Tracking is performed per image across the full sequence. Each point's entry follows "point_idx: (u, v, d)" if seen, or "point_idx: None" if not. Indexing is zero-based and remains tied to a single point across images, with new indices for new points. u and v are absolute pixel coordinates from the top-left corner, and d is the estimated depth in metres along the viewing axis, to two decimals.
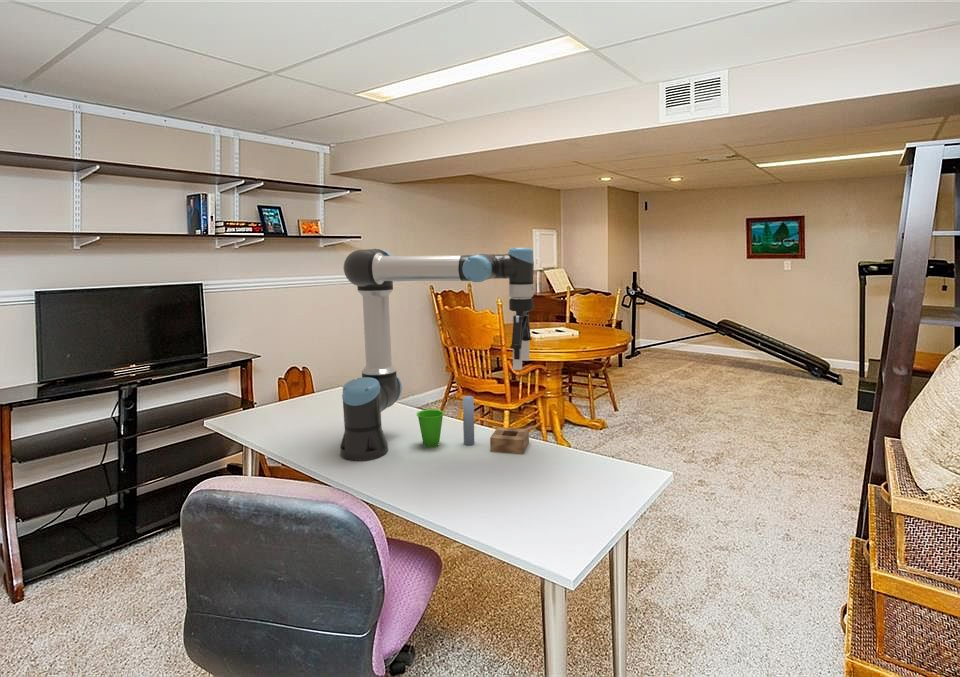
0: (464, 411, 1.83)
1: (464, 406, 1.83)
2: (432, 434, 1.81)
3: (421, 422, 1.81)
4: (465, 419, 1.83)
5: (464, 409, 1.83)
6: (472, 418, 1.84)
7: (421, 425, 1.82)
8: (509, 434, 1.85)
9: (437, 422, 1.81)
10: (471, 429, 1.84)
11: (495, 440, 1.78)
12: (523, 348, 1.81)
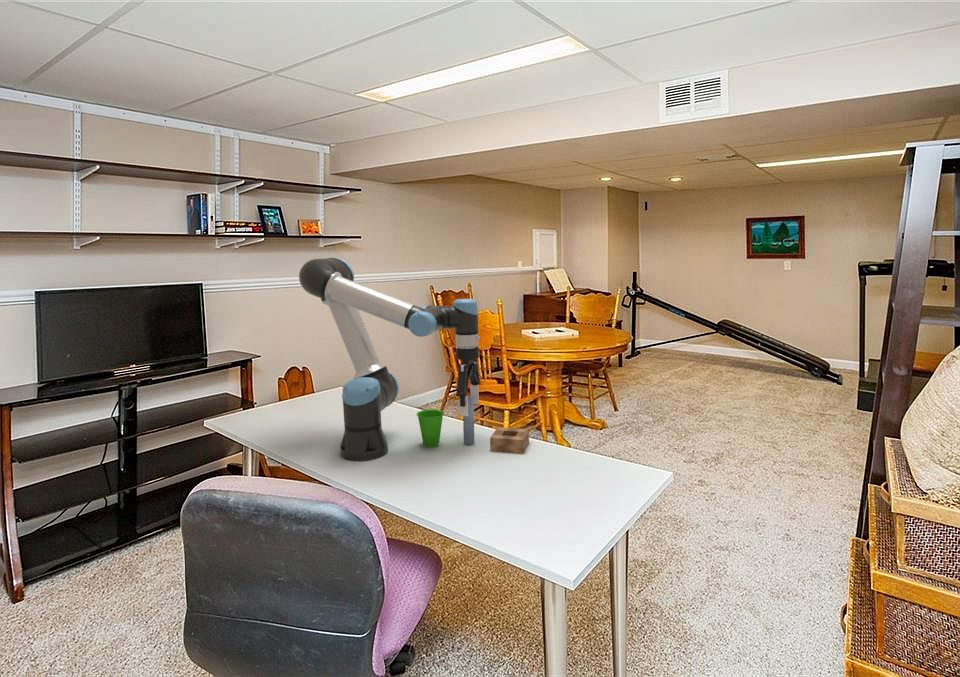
0: None
1: None
2: (432, 434, 1.81)
3: (421, 422, 1.81)
4: (465, 419, 1.83)
5: None
6: (472, 418, 1.84)
7: (421, 425, 1.82)
8: (509, 434, 1.85)
9: (437, 422, 1.81)
10: (471, 429, 1.84)
11: (495, 440, 1.78)
12: (472, 392, 1.90)
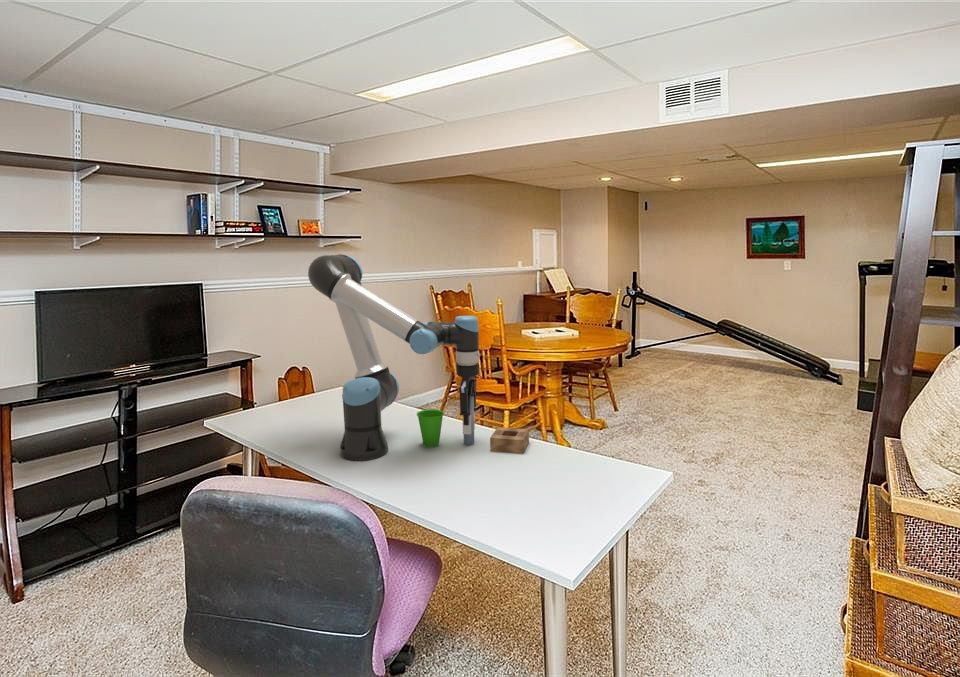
0: None
1: None
2: (432, 434, 1.81)
3: (421, 422, 1.81)
4: None
5: None
6: (472, 418, 1.84)
7: (421, 425, 1.82)
8: (509, 434, 1.85)
9: (437, 422, 1.81)
10: (471, 429, 1.84)
11: (495, 440, 1.78)
12: None
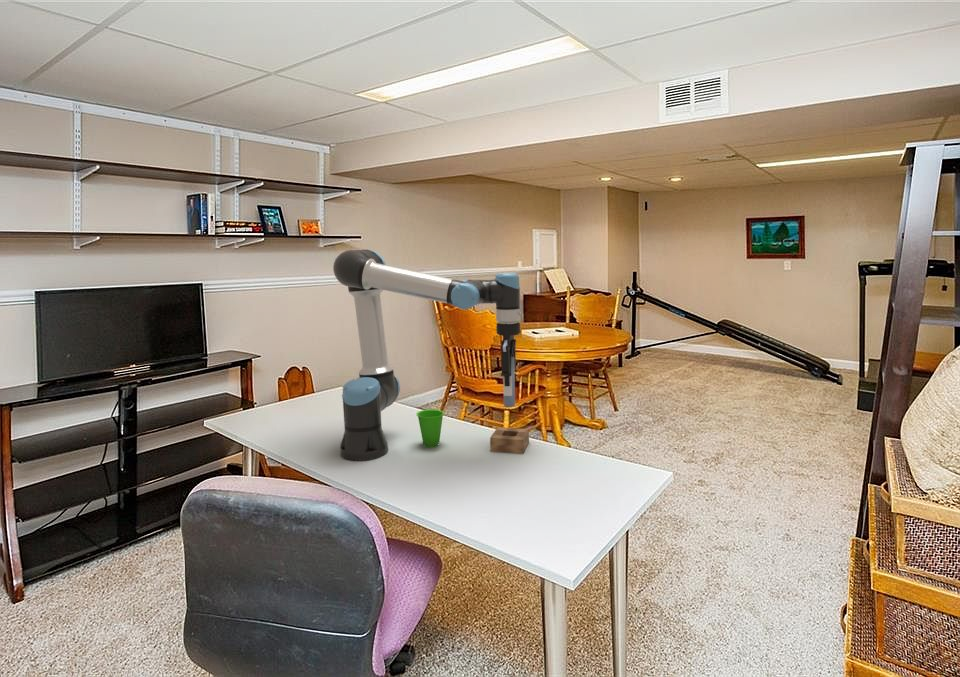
0: None
1: None
2: (432, 434, 1.81)
3: (421, 422, 1.81)
4: None
5: None
6: (513, 379, 1.78)
7: (420, 425, 1.82)
8: (509, 434, 1.85)
9: (437, 422, 1.81)
10: (512, 390, 1.78)
11: (495, 440, 1.78)
12: None
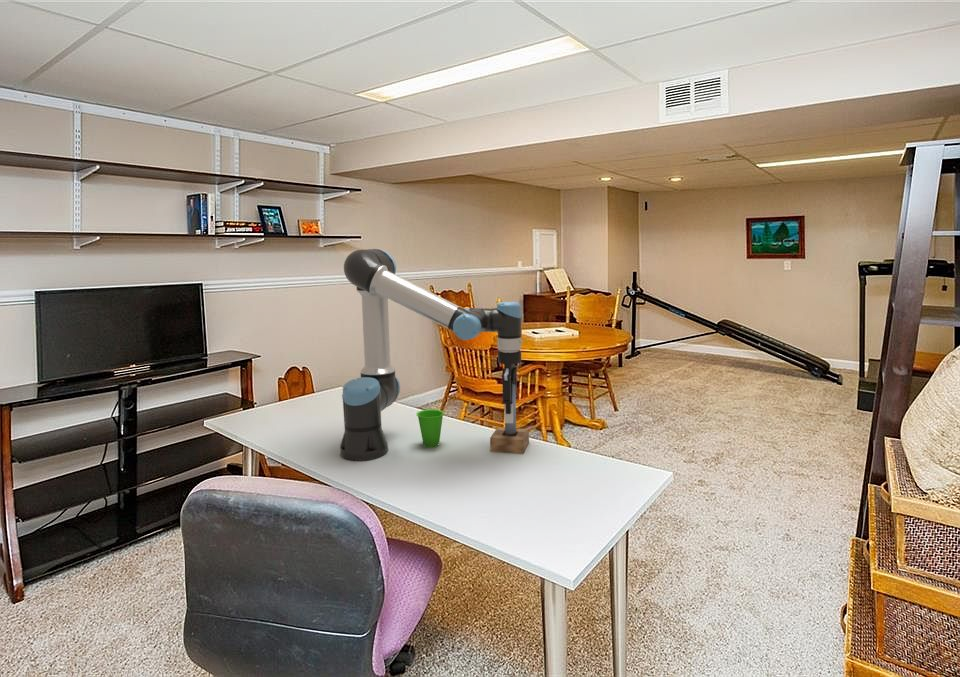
0: None
1: None
2: (432, 434, 1.81)
3: (421, 422, 1.81)
4: None
5: None
6: (514, 406, 1.79)
7: (420, 425, 1.82)
8: (509, 434, 1.85)
9: (437, 422, 1.81)
10: (513, 418, 1.80)
11: (495, 440, 1.78)
12: None
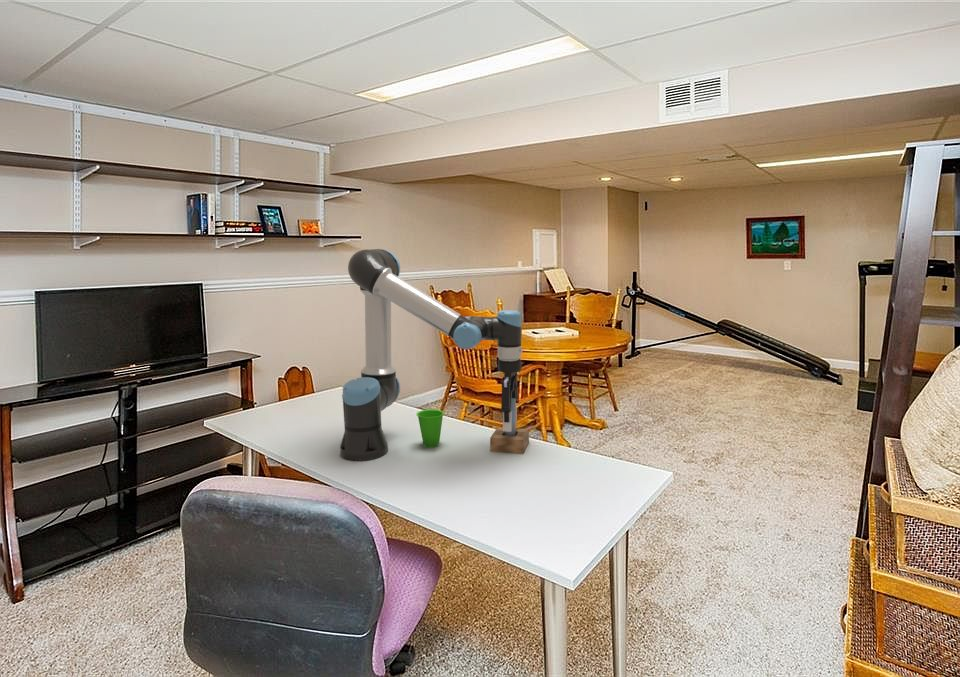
0: None
1: None
2: (432, 434, 1.81)
3: (421, 422, 1.81)
4: None
5: None
6: (514, 420, 1.80)
7: (421, 425, 1.82)
8: None
9: (437, 422, 1.81)
10: (513, 432, 1.80)
11: (495, 440, 1.78)
12: None
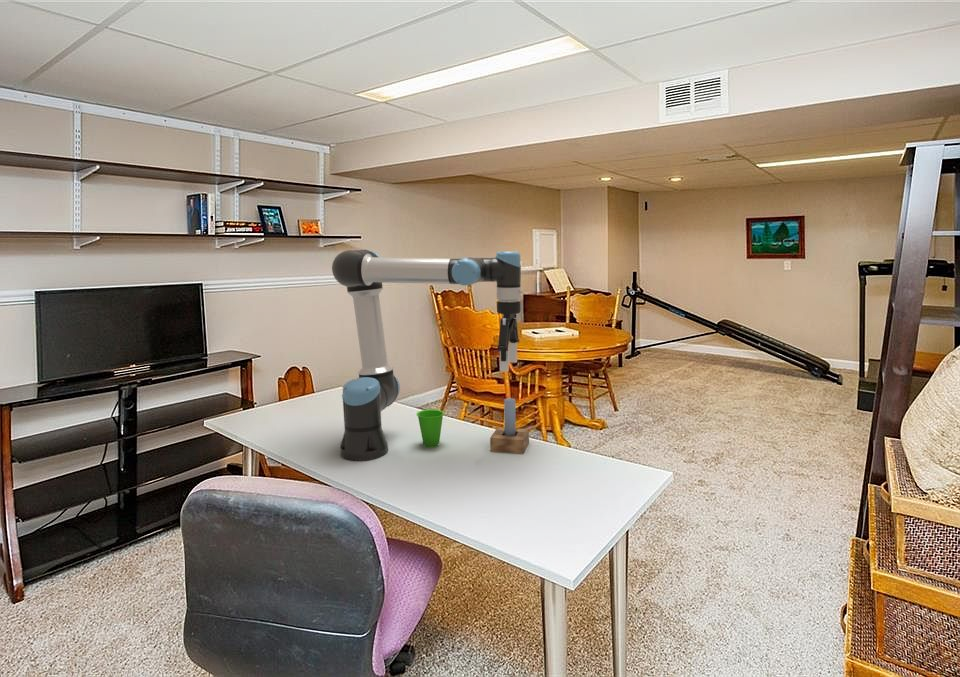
0: (506, 413, 1.79)
1: (506, 409, 1.79)
2: (432, 434, 1.81)
3: (421, 422, 1.81)
4: (507, 422, 1.80)
5: (506, 412, 1.79)
6: (514, 421, 1.80)
7: (421, 425, 1.82)
8: None
9: (437, 422, 1.81)
10: (513, 432, 1.80)
11: (495, 440, 1.78)
12: (511, 350, 1.84)
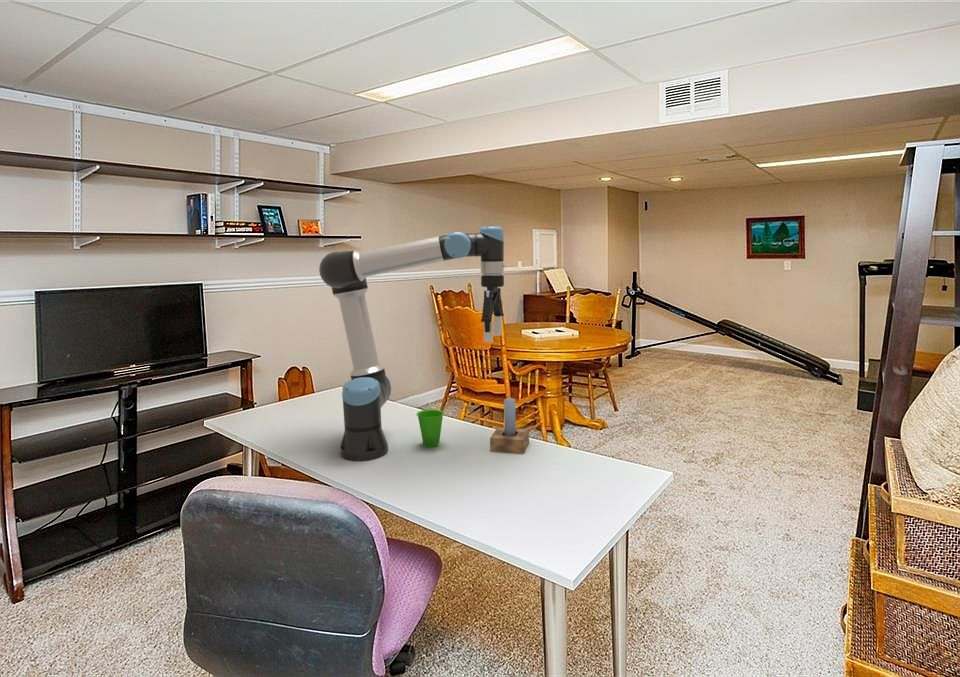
0: (506, 413, 1.79)
1: (506, 409, 1.79)
2: (432, 434, 1.81)
3: (421, 422, 1.81)
4: (507, 422, 1.80)
5: (506, 412, 1.79)
6: (514, 421, 1.80)
7: (421, 425, 1.82)
8: None
9: (437, 422, 1.81)
10: (513, 432, 1.80)
11: (495, 440, 1.78)
12: (495, 323, 1.91)
